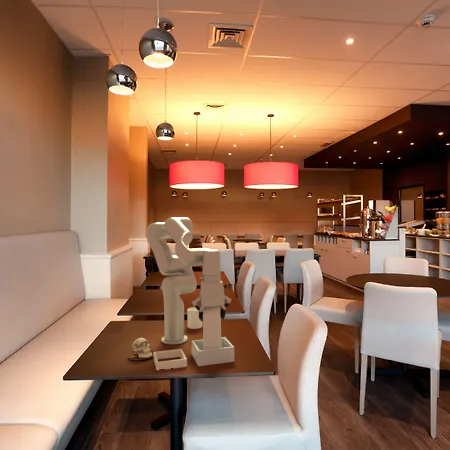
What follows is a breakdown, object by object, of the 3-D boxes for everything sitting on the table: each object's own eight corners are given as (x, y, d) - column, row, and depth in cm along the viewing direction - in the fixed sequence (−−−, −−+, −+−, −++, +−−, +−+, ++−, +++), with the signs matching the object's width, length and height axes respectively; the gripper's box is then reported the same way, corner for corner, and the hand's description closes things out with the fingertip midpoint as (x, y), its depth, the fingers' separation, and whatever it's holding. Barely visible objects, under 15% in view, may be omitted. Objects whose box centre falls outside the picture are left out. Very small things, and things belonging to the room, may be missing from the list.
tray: (153, 359, 148) (153, 352, 148) (181, 355, 151) (181, 348, 151) (156, 370, 136) (156, 362, 136) (186, 366, 140) (186, 359, 140)
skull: (163, 352, 153) (150, 339, 147) (148, 374, 147) (134, 361, 142) (148, 345, 161) (134, 332, 156) (133, 365, 156) (119, 352, 150)
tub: (191, 354, 153) (191, 340, 153) (225, 350, 157) (224, 337, 157) (198, 366, 140) (198, 351, 140) (234, 361, 145) (234, 347, 145)
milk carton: (220, 351, 145) (219, 305, 145) (203, 351, 145) (202, 305, 145) (221, 345, 152) (220, 301, 152) (204, 345, 152) (204, 301, 152)
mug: (208, 329, 188) (208, 311, 188) (186, 328, 190) (186, 310, 189) (210, 324, 196) (210, 307, 196) (189, 324, 198) (189, 307, 197)
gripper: (193, 281, 142) (193, 323, 142) (233, 278, 147) (234, 320, 147) (189, 278, 149) (190, 319, 150) (228, 276, 155) (228, 315, 155)
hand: (212, 319), depth 149 cm, fingers closed on milk carton, 8 cm apart
